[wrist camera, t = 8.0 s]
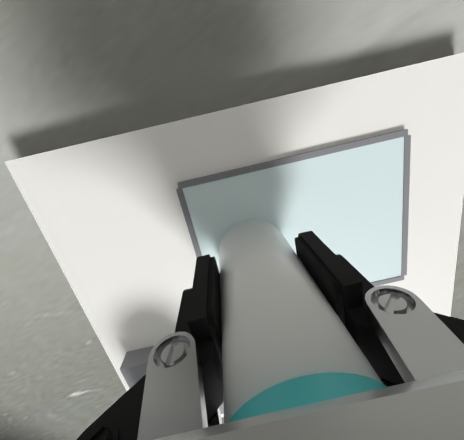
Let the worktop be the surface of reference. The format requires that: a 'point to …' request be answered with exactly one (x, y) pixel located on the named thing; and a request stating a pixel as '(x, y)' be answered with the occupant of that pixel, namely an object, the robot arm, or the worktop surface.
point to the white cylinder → (280, 330)
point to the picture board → (258, 196)
